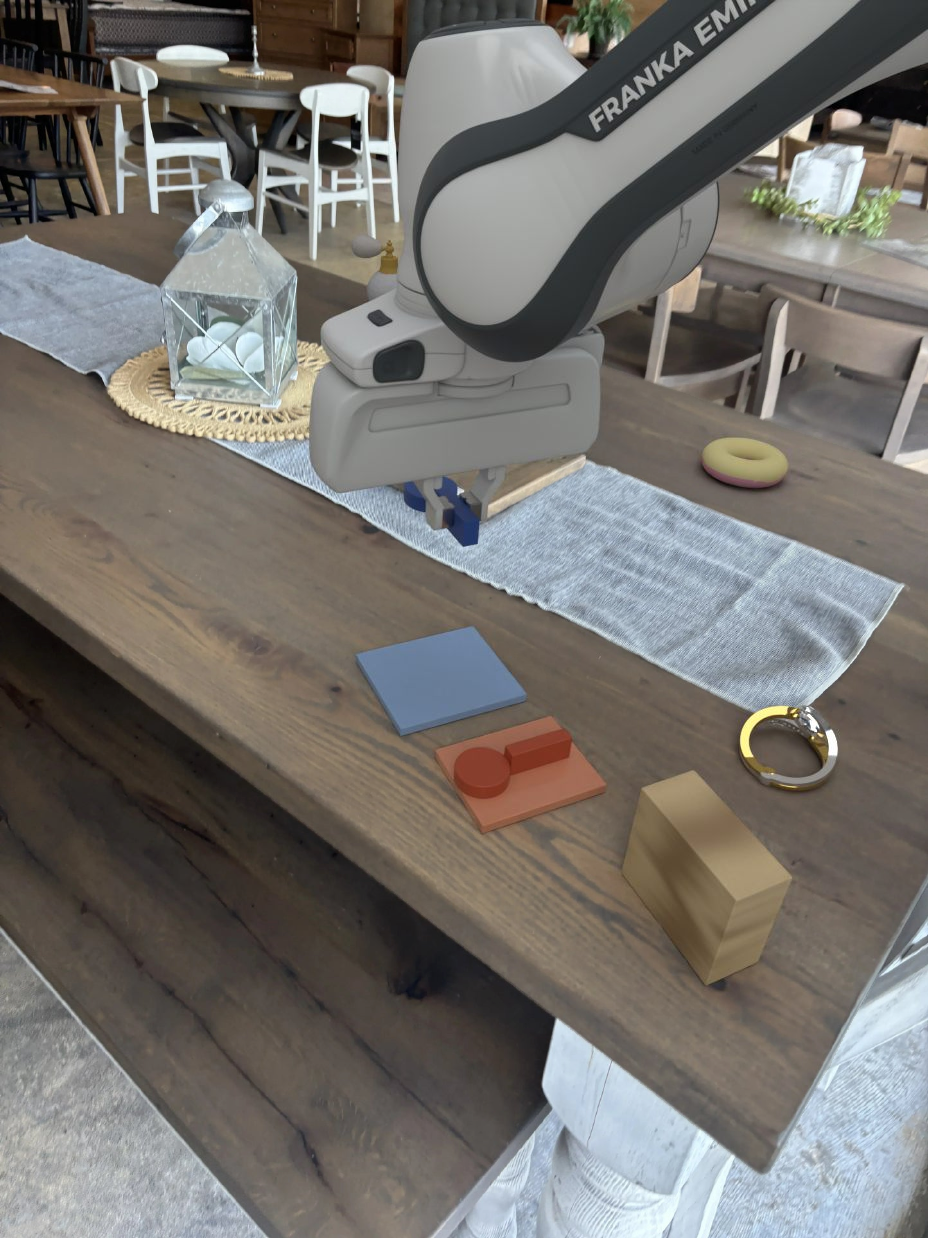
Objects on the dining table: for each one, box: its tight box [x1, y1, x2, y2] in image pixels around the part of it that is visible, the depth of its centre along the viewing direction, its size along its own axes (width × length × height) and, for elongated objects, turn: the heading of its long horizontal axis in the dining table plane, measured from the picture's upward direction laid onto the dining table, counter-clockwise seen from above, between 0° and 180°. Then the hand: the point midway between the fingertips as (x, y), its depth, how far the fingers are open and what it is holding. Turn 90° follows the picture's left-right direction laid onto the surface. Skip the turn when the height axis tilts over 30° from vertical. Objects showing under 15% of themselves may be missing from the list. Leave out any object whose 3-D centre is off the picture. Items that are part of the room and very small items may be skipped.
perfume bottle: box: [350, 234, 399, 302], centre depth 149 cm, size 8×10×12 cm
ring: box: [738, 704, 838, 792], centre depth 69 cm, size 7×3×8 cm
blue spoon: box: [403, 476, 481, 548], centre depth 66 cm, size 9×4×2 cm, turn 25°
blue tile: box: [355, 625, 528, 737], centre depth 75 cm, size 10×11×1 cm
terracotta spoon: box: [454, 727, 573, 799], centre depth 65 cm, size 9×4×2 cm, turn 115°
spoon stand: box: [621, 769, 793, 986], centre depth 55 cm, size 9×4×8 cm, turn 26°
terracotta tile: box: [434, 715, 607, 834], centre depth 66 cm, size 8×10×1 cm
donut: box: [701, 436, 789, 489], centre depth 109 cm, size 10×5×9 cm
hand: (455, 522), depth 65 cm, fingers closed on blue spoon, 1 cm apart
